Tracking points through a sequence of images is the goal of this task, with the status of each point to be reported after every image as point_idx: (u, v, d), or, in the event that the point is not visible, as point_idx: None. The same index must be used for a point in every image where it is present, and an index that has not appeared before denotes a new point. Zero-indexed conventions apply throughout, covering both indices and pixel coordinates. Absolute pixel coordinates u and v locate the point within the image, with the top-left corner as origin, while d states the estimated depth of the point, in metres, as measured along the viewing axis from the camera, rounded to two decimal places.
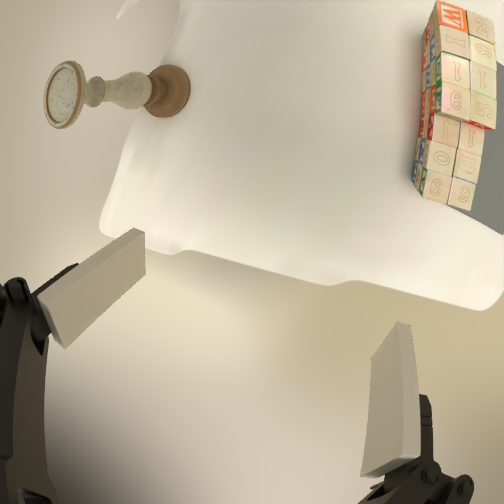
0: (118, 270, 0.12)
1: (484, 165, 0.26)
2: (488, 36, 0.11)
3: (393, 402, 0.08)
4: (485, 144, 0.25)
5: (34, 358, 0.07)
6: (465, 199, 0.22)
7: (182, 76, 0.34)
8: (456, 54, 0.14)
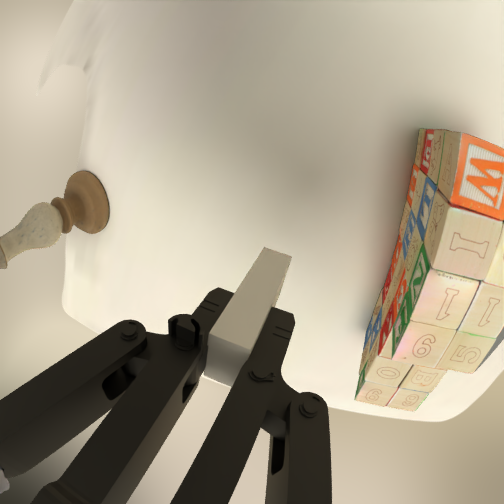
0: None
1: None
2: None
3: None
4: None
5: (175, 408, 0.08)
6: (410, 404, 0.18)
7: (96, 191, 0.30)
8: (459, 274, 0.10)
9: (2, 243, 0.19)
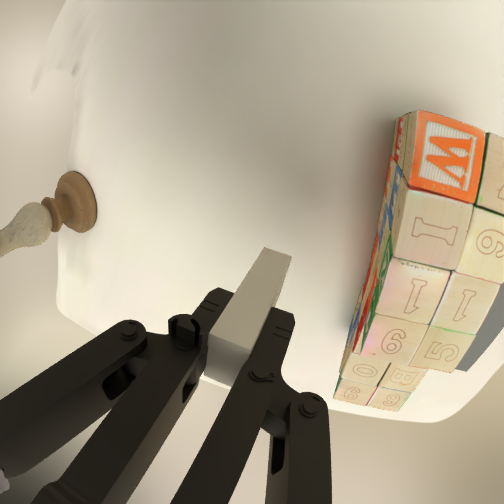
0: None
1: None
2: None
3: None
4: None
5: (175, 408, 0.08)
6: (392, 404, 0.18)
7: (84, 191, 0.30)
8: (425, 262, 0.10)
9: None
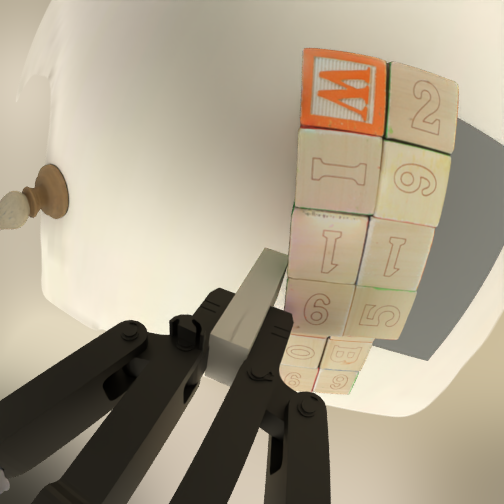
0: None
1: None
2: (440, 133, 0.08)
3: None
4: None
5: (175, 409, 0.07)
6: (340, 386, 0.18)
7: (57, 181, 0.31)
8: (335, 209, 0.10)
9: None
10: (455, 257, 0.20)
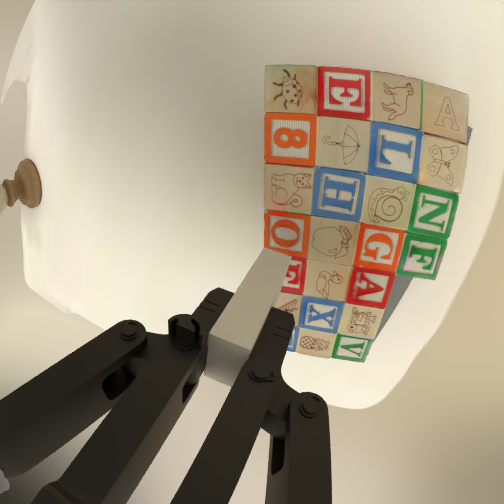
0: None
1: None
2: None
3: None
4: None
5: (174, 408, 0.08)
6: None
7: (32, 173, 0.32)
8: None
9: None
10: None
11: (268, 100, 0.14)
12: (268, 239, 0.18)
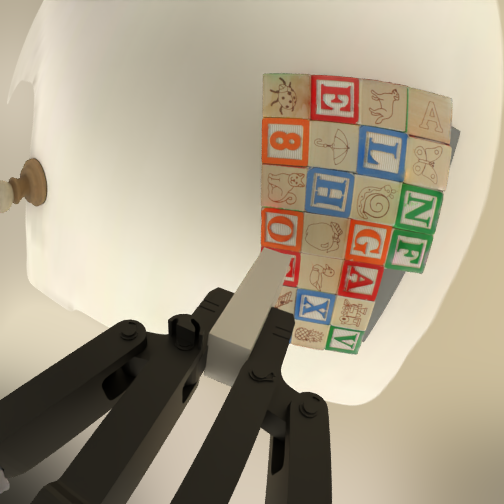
0: None
1: None
2: None
3: None
4: None
5: (174, 408, 0.08)
6: None
7: (38, 172, 0.34)
8: None
9: None
10: None
11: (265, 106, 0.16)
12: (265, 234, 0.20)
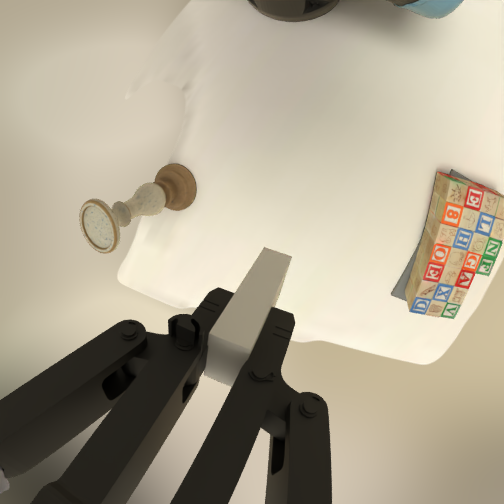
0: None
1: None
2: None
3: None
4: None
5: (174, 408, 0.08)
6: None
7: (189, 179, 0.46)
8: None
9: (127, 207, 0.36)
10: None
11: (448, 196, 0.29)
12: (432, 256, 0.33)
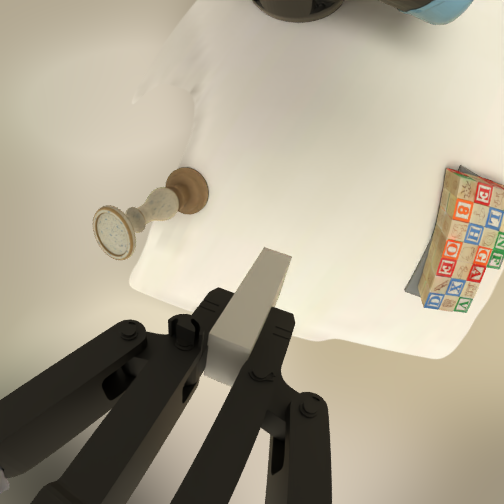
0: None
1: None
2: None
3: None
4: None
5: (175, 408, 0.08)
6: None
7: (201, 183, 0.47)
8: None
9: (141, 213, 0.37)
10: None
11: (459, 192, 0.28)
12: (444, 251, 0.33)
